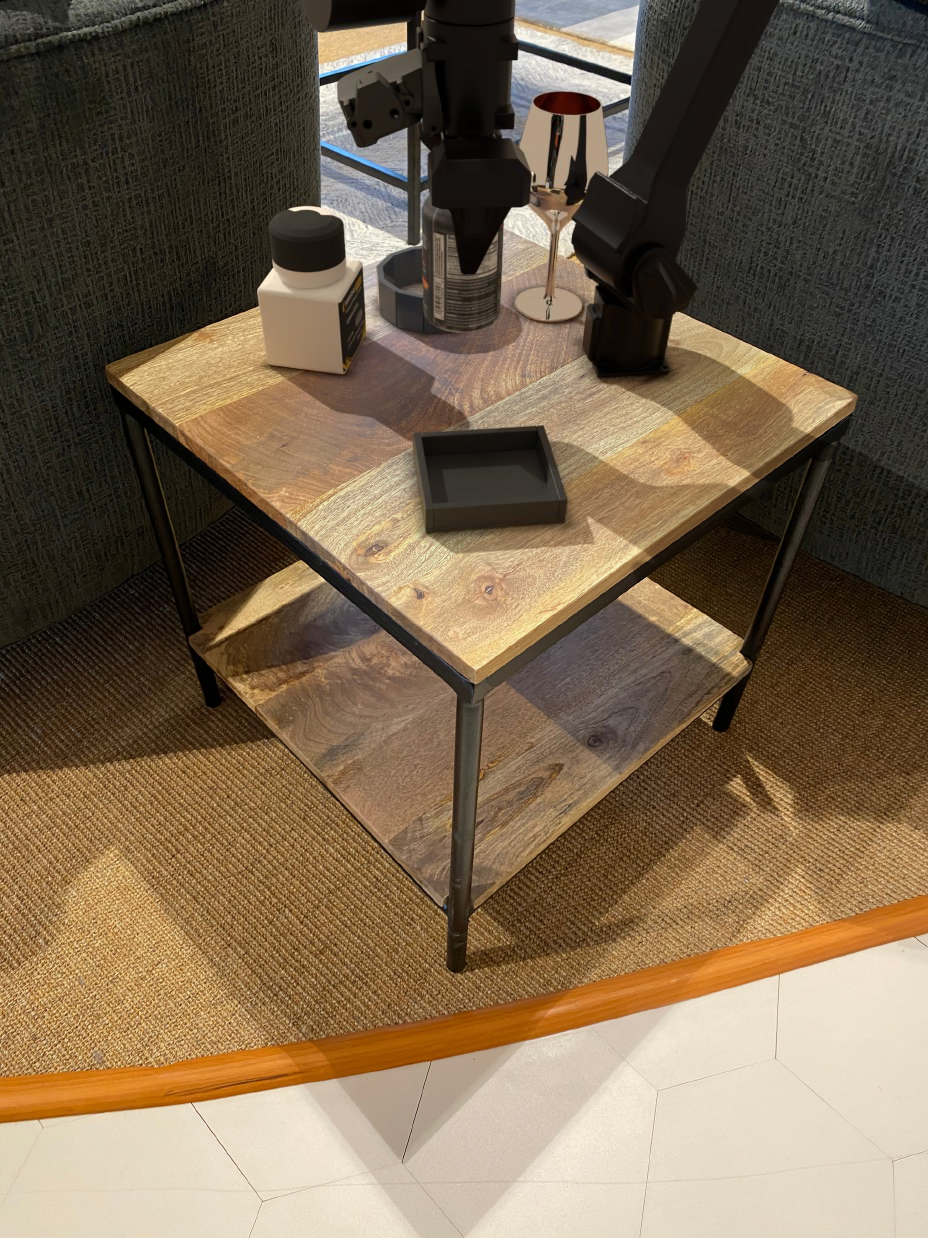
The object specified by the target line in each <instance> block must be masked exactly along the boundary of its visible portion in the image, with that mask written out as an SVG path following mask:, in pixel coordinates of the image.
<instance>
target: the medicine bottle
mask: <svg viewBox="0 0 928 1238" xmlns="http://www.w3.org/2000/svg"><path fill="white" fill-rule="evenodd" d="M268 235H269V236H268V237H269V244H270V251H271V260H272V261H271V262H272V267H273V268H272V269H271V270H270V271H269V273H268V274H267V276H266V277H265V278H264V280H263V281H262V282H261V284H259V285H260V286H259V287H258V288H257V292H256V293H257V301H258V308H259V315H260V323H261V328H262V329H261V330H262V336H263V346H264V351H265V358H266V363H267V364H268V365H270V366H275V367H276V366H277V367H285V368H292V369H299V370H306V371H314V372H320V373H321V372H322V373H328V374H336V375H344V374H346V373H347V371H348V370H349V367H350V366H351V364H352V362H353V360H354V358H355V356H356V354H357V352H358V350H359V349H360V347H361V345H362V343H363V342H364V339H365V337H366V335H367V319H366V302H365V299H366V298H365V284H364V281H365V279H364V264H363V262H362V261H361V260H358V259H351V258H350V259H349V258H347V253H346V237H345V223H344V221H343V219H342V218H341V217H340V215H338V214H337V213H336V212H334V211H332V210H329V209H326V208H324V207H318V206H311V205H303V206H302V205H301V206H296V207H290V208H288V209H285V210H283V211H280V212H279V213H277V214H275V215H274V216H273V217H272V218H271V220H270V221H269V223H268Z"/></svg>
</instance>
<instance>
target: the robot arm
mask: <svg viewBox="0 0 928 1238" xmlns="http://www.w3.org/2000/svg"><path fill="white" fill-rule="evenodd" d="M779 2H780V0H702V1H701V2H700V5H699V7H698V8H697V11H696V13H695V16H694V18H693V20H692V23H691V24H690V26H689V29H688V32H687V33H686V35H685V38H684V40H683V42H682V44H681V46H680V48H679V51H678V53H677V55H676V58H675V59H674V61H673V64H672V66H671V67H670V70H669V73H668V75H667V77H666V78H665V81H664V83H663V86H662V88H661V90H660V93H659V94H658V97H657V99H656V101H655V103H654V105H653V107H652V110H651V112H650V114H649V116H648V118H647V120H646V122H645V125H644V127H643V129H642V132H641V134H640V136H639V138H638V140H637V142H636V145H635V146H634V149H633V151H632V153H631V154H630V157H629V158H628V159H627V160H626V162H624V163H623V164H622V165H620V167H618V168H617V169H616V170H614V172H613V171H612V173H611V174H609V175H608V177H607V176H605V175H604V174H602V173H601V172H599V171H597V172H595V173H594V175H593V176H592V177H591V179H590V181H589V184H588V187H587V190H586V194H585V197H584V199H583V201H582V203H581V205H580V207H579V208H578V210H577V211H576V212H575V213H574V215H573V216H572V217H571V219H572V222H574V227H573V230H572V232H571V233H572V234H571V240H570V243H571V245H572V248H573V251H574V252H573V253H574V255H575V256H574V257H576V259H577V260H578V262H580V264H582V265H583V268H584V274H585V277H586V278H588V279H590V280H592V281H593V282H594V283H596V285H595V286H594V287H595V288H594V296H593V303H589V304H588V305H587V306H586V310H585V311H586V312H585V320H584V327H583V335H582V345H581V346H582V348H583V351H584V353H585V357H586V359H587V361H589V362H590V363H591V365H592V368H593V370H594V372H595V375H596V377H598V378H600V379H613V378H615V379H616V378H632V377H646V376H647V377H651V376H652V377H653V376H667V375H669V374H670V372H671V366H670V364H669V362H668V360H667V358H666V354H667V349H668V345H669V344H668V343H669V339H670V334H671V327H672V322H673V318H674V315H676V313H679V312H682V311H686V310H687V309H688V307H689V305H690V304H691V301H692V299H693V297H694V295H695V292H696V291H697V287H698V286H697V283H696V282H695V281H694V279H692V278H691V276H690V275H689V274H688V273H687V272H686V271H685V270H684V269H683V267H682V266H681V265H680V263H678V261H677V260H676V259H677V257H678V254H679V251H680V248H681V247H682V243H683V240H684V237H685V235H686V233H687V203H688V188H689V185H690V182H691V180H692V178H693V176H694V174H695V172H696V170H697V169H698V166H699V163H700V162H701V160H702V158H703V156H704V154H705V152H706V150H707V148H708V146H709V144H710V142H711V139H712V138H713V136H714V133H715V131H716V129H717V128H718V125H719V124H720V121H721V119H722V117H723V115H724V113H725V111H726V109H727V107H728V105H729V103H730V101H731V99H732V97H733V96H734V93H735V92H736V89H737V87H738V85H739V83H740V81H741V79H742V77H743V75H744V73H745V72H746V69H747V67H748V65H749V63H750V62H751V59H752V57H753V55H754V53H755V51H756V49H757V47H758V45H759V42H760V41H761V39H762V37H763V35H764V33H765V32H766V29H767V27H768V24H769V22H770V21H771V18H772V16H773V15H774V12H775V11H776V8H777V7H778V4H779ZM301 3H302V7H303V10H304V12H305V15H306V17H307V19H308V21H309V23H310V25H311V26H312V28H314V30H315V32H317V33H320V34H324V33H331V32H332V33H333V32H340V31H347V30H348V31H349V30H357V29H364V28H372V27H380V26H387V25H388V26H389V25H397V24H405V23H409V22H411V21H412V20H413V19H414V17H415V16H416V14H417V12H419V11H423V19H421V20H420V26H417V27H416V48H413V49H410V50H407V51H405V52H402V53H399V54H394V55H391V56H389V57H386V58H384V59H381V60H379V61H377V62H374V63H371V64H370V65H366V66H365V67H362V68H360V69H358V70H354V71H352V72H350V73H348V74H346V75H344V76H342V77H341V78H340V79H339V80H338V81H337V83H336V96H337V102H338V104H339V107H340V110H341V111H342V114H343V117H344V119H345V121H346V128H347V130H348V131H349V132H350V133H351V136H352V138H353V141H354V143H355V146H356V147H357V148H359V149H365V148H368V147H372V146H374V145H377V144H378V141H380V140H381V139H383V138H386V137H387V136H391V135H394V134H395V133H398V132H401V131H403V130H406V129H408V128H411V127H413V126H414V125H416V129H417V135H418V139H419V141H420V142H421V143H422V144H423V145H424V146H425V147H426V148H427V150H429V152H428V153H427V157H426V158H427V159H426V161H427V163H426V164H427V165H426V166H427V168H426V169H427V179H426V182H427V188H428V195H430V200H431V205H432V206H434V207H437V208H439V209H448V210H449V211H450V213H451V219H452V225H453V231H454V236H455V242H456V248H457V254H458V260H459V265H460V271H461V273H462V274H463V275H471V274H476V273H477V271H478V269H479V267H480V265H481V263H482V261H483V259H484V257H485V255H486V254H487V252H488V250H489V248H490V246H491V244H492V242H493V240H494V238H495V236H496V235H497V233H498V231H499V229H500V227H501V225H502V223H503V222H504V223H505V221H506V219H507V217H508V215H509V213H510V211H511V210H512V209H516V208H517V209H518V208H520V209H521V208H524V207H526V206H527V205H528V204H530V192H531V178H532V173H531V170H530V168H529V165H528V162H527V160H526V157H525V154H524V152H523V151H522V150H521V149H520V148H519V147H518V144H517V143H516V142H515V141H514V140H513V139H512V137H503V134H502V131H507V130H511V131H513V130H515V121H516V120H515V118H516V112H515V110H514V107H513V105H512V102H511V96H512V76H513V61H515V62H516V61H519V45H520V41H519V40H518V38H517V35H516V33H515V20H516V19H515V18H516V16H515V15H516V0H301ZM420 121H421V122H420Z"/></svg>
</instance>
